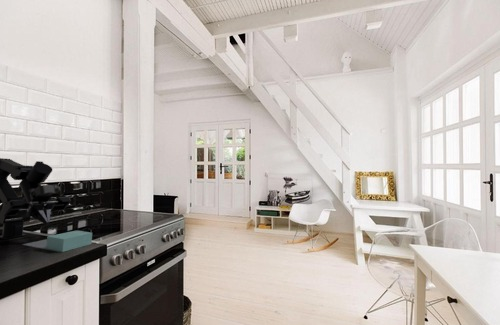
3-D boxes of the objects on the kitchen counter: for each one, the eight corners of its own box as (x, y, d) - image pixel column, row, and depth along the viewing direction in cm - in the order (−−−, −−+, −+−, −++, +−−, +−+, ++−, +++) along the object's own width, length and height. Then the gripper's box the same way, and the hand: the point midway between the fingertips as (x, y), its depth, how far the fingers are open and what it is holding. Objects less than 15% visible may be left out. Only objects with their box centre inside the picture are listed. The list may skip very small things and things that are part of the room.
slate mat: (22, 246, 80) (22, 244, 80) (55, 239, 90) (55, 237, 90) (59, 254, 74) (59, 251, 74) (90, 245, 84) (90, 243, 84)
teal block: (47, 236, 77) (63, 239, 74) (76, 230, 86) (92, 232, 84) (46, 248, 77) (62, 251, 74) (76, 241, 86) (91, 243, 83)
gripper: (10, 177, 79) (25, 213, 74) (70, 177, 96) (85, 206, 91) (-4, 198, 81) (9, 234, 76) (57, 194, 98) (71, 224, 94)
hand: (47, 223), depth 84 cm, fingers closed
